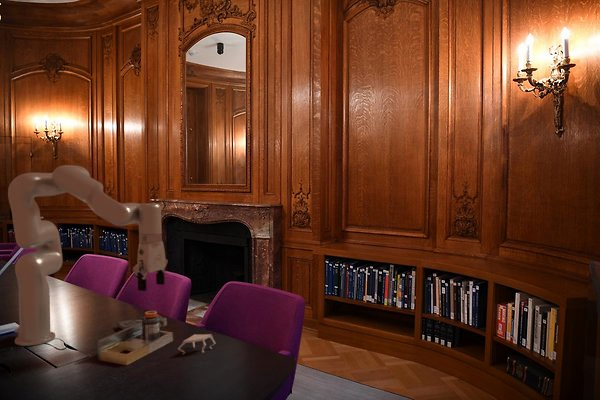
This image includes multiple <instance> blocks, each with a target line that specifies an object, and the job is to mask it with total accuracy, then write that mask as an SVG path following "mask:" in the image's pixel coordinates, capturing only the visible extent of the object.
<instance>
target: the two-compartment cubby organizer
mask: <svg viewBox="0 0 600 400" xmlns="http://www.w3.org/2000/svg"><path fill="white" fill-rule="evenodd" d="M173 341H174V333H173V332H171V331H164V330H160V338H158V339H156V340H154V341H148V340H142V322H141V323H138V324H136V325H134V326H131V327H129V328H126V329H124V330H123V329H122V330H119V331H118V332H116V333H113V334H110V335H108V336H105V337H103V338H101V339H98V340H97V360H99V361H101V362H106V363H107V362H108V363H113V364H119V365H124V366H128V365H130V364H132V363H133V362H135V361H137V360H139V359H141V358H143V357H145V356H147V355H148V354H150V353H153V352H154V351H156V350H158V349H160V348H162V347H164V346H165V345H167V344H170V343H171V342H173ZM124 351H128V352H129V353H123V352H124Z"/></svg>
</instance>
